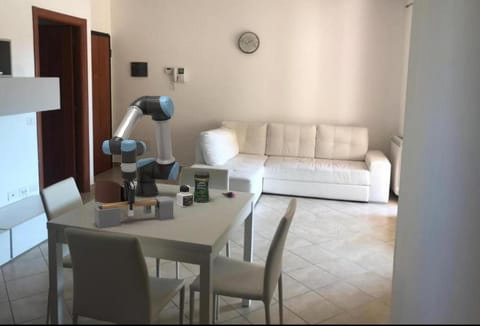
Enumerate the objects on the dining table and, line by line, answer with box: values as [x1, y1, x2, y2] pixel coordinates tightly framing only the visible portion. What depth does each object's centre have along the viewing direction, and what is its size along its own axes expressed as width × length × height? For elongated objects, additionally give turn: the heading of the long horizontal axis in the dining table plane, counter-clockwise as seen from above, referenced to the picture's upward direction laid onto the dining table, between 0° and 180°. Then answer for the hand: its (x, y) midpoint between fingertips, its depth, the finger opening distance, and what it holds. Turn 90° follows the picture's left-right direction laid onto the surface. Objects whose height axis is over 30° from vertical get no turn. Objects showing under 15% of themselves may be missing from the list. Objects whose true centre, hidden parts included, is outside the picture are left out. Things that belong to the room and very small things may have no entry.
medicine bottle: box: [176, 184, 194, 209], centre depth 271 cm, size 7×7×12 cm
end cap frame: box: [94, 196, 174, 229], centre depth 240 cm, size 9×39×10 cm, turn 119°
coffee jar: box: [193, 170, 211, 203], centre depth 281 cm, size 10×8×19 cm
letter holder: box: [94, 179, 126, 204], centre depth 274 cm, size 10×20×14 cm, turn 62°
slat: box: [100, 198, 157, 210], centre depth 238 cm, size 4×28×2 cm, turn 119°
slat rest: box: [142, 206, 152, 214], centre depth 252 cm, size 5×23×5 cm, turn 119°
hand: (129, 214), depth 239 cm, fingers closed on slat, 4 cm apart
